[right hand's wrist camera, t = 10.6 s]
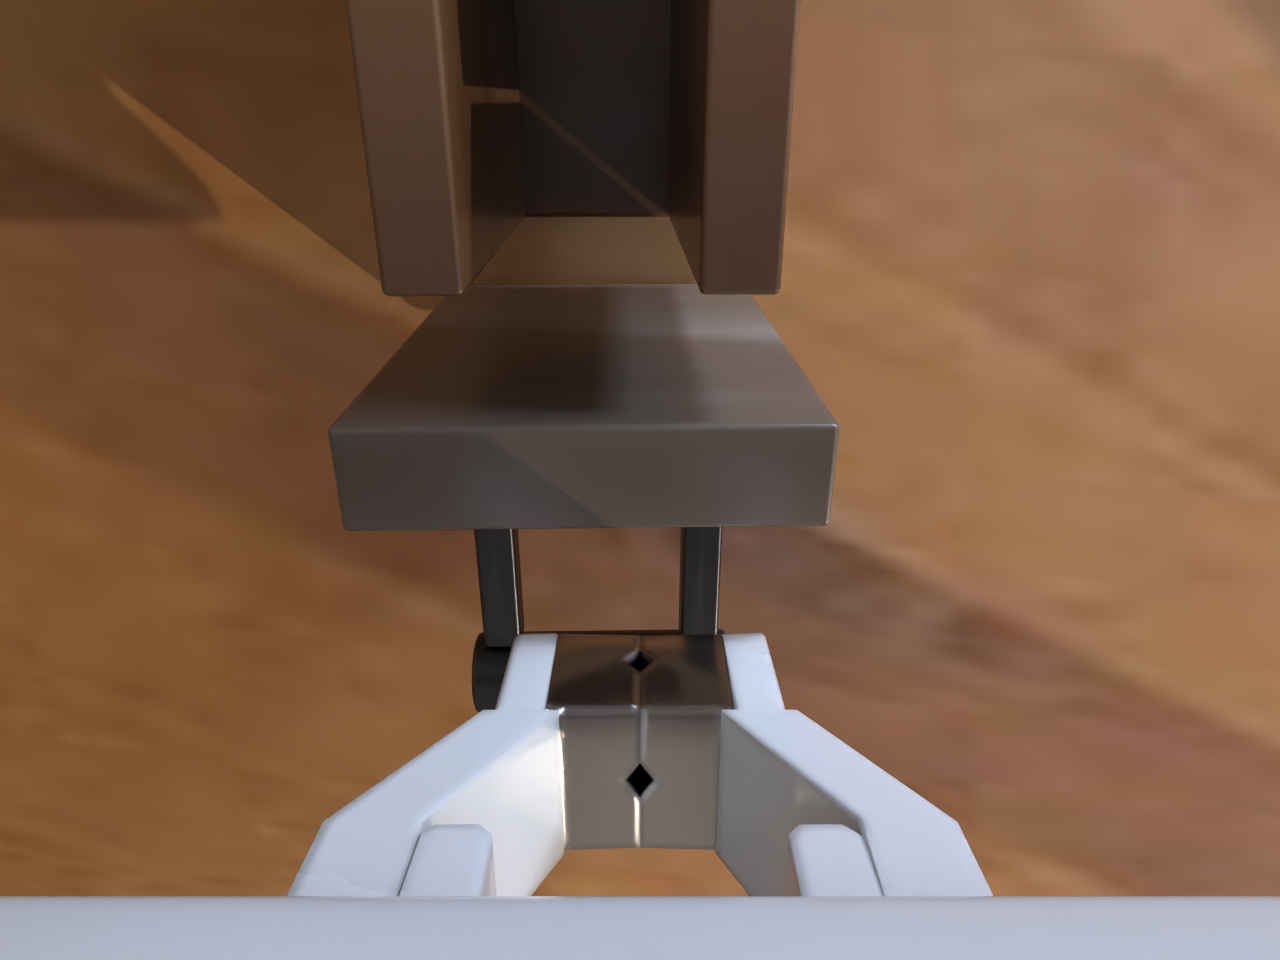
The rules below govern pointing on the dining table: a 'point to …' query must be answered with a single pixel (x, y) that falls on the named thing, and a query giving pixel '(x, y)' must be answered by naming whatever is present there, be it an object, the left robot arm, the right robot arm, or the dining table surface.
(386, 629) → the dining table surface
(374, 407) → the drawer
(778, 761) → the right robot arm
